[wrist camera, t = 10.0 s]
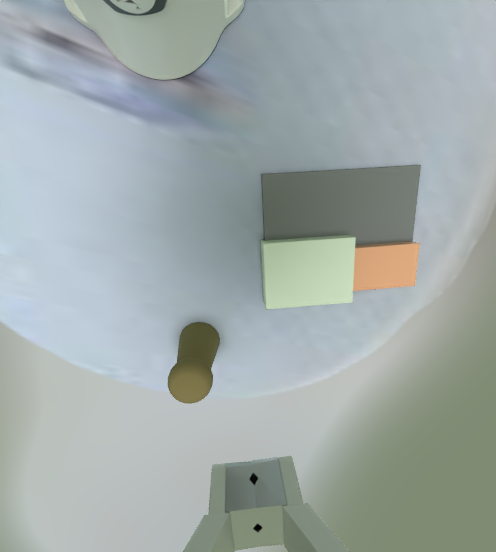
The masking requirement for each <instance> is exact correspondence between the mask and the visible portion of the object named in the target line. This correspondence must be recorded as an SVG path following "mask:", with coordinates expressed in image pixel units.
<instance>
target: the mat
mask: <svg viewBox="0 0 496 552" xmlns="http://www.w3.org/2000/svg"><path fill="white" fill-rule="evenodd" d="M420 167H421V165H413V166H396V167H379V168H362V169H345V170H328V171H311V172H295V173H278V174H262V175H261V176H262V199H263V221H264V240H265V241H267V240H281V239H296V238H310V237H324V236H338V235H349V236H353V237H356V240H355V245H367V244H380V243H393V242H406V241H411V242H412V240H413V231H414V222H415V213H416V204H417V194H418V185H419V176H420Z"/></svg>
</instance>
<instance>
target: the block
mask: <svg viewBox="0 0 496 552" xmlns="http://www.w3.org/2000/svg"><path fill="white" fill-rule="evenodd" d="M419 245H420V243H416V242H411V241H406V242H393V243H380V244H367V245H355V260H354V280H353V291H358V290H370V289H382V288H394V287H405V286H415V280H416V272H417V263H418V254H419Z"/></svg>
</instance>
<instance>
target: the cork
mask: <svg viewBox="0 0 496 552" xmlns="http://www.w3.org/2000/svg"><path fill="white" fill-rule="evenodd" d="M219 341H220V338H219V335H218V332H217V331H216V330H215V328H213V327H212V326H211V325H209V324H206V323H201V322H196V323H192V324H190V325H188V326H186V327H185V328H184V329H183V331H182V332H181V335H180V339H179V348H178V357H177V363H176V364H175V365H174V367H173V368H172V369H171V371H170V374H169V376H168V388H169V391H170V393H171V394H172V395H173V397H174V398H175V399H177V400H178V401H180V402H183V403H195V402H198V401H200V400H202V399H203V398H205V397H206V396H207V395H208V393H209V391H210V389H211V387H212V383H213V375H212V371H211V367H212V364H213V361H214V358H215V355H216V352H217V349H218V347H219Z"/></svg>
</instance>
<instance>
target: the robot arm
mask: <svg viewBox="0 0 496 552" xmlns="http://www.w3.org/2000/svg"><path fill="white" fill-rule="evenodd" d="M64 2H65V5H66V7H67V8H68V10H69V11H70V13H71V14H72V15H73V17H74V18H76V19H77V20H78V21H79V22H81V23H82V24H83V25H85V26H86V27H88V28H90V29H91V30H93V31H94V32H95V33H96V34H97V35H98V36H99V37H100V38H101V40H102V41H103V42H104V44H105V45H106V46H107V48H108V49H109V50H110V51H111V53H112V54H113V55H114V56H115V57H116V58H117V59H118V60H119V61H120V62H121V63H123V64H124V65H125V66H126V67H128V68H129V69H131V70H132V71H134V72H136V73H138V74H140V75H143V76H146V77H149V78H153V79H160V80H168V79H176V78H180V77H183V76H185V75H187V74H189V73H191V72H193V71H194V70H196V69H197V68H198V67H200V66H201V65H202V64H203V63H204V62H205V61H206V60H207V59H208V57H209V56H210V55H211V53H212V51H213V50H214V48H215V46H216V44H217V42H218V40H219V38H220V35H221V33H222V32H223V30H224V28H225V27H226V26H227V25H228V24H230V23H231V22H232V21H233V20H234V19H235V18H236V17H237V16H238V15H239V14H240V13H241V11H242V10H243V8H244V0H64ZM282 544H284V545H285V548H286V549H287V551H288V552H350V551H349V550H348V549H347V548H346V547H345V546H344V544H343V543H342V542H341V541H340V540H339V539H338V538H337V536H336V535H335V534H334V533H333V532H332V531H331V529H330V528H329V527H328V526H327V525H326V524H325V523H324V521H323V520H322V519H321V518H320V517H319V516H318V514H317V513H316V512H315V511H314V510H313V509H312V508H311V506H310V505H309V504H308V503H303V500H302V495H301V492H300V488H299V483H298V479H297V475H296V471H295V467H294V462H293V459H292V457H291V456H287V457H279V458H278V457H275V458H269V459H260V460H253V461H249V462H236V463H225V464H215V465H213V466H212V472H211V487H210V500H209V515H204V517H203V519H202V520H201V522H200V524H199V525H198V527H197V529H196V531H195V532H194V534H193V536H192V537H191V539H190V541H189V542H188V544H187V546H186V547H185V549H184V551H183V552H234V551H236V550H242V549H248V548H254V547H259V546H272V545H282Z"/></svg>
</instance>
